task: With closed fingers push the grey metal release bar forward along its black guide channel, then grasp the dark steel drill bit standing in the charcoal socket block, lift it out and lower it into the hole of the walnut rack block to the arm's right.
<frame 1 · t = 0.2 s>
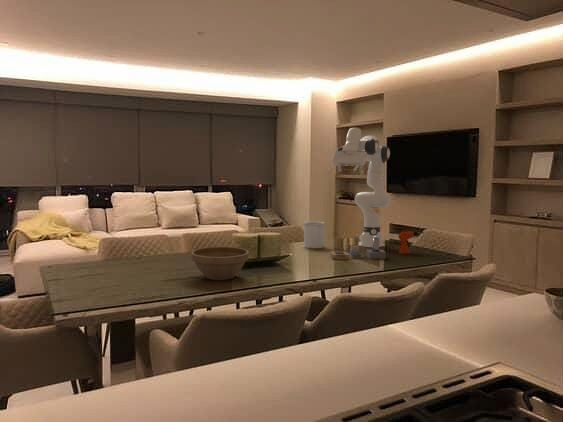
hand: (347, 170, 276), 54 cm above the table, tool tilted 30°, fingers open, 8 cm apart
rack: (339, 257, 284), on the table
drill bit: (376, 246, 286), in the socket block
guide channel: (355, 256, 289), on the table
toy drill: (410, 253, 303), on the table
flower pot: (220, 277, 230), on the table
release bar: (354, 250, 293), point 3 cm above the table, slide at 0.0 cm
socket block: (375, 257, 286), on the table
utensil holder: (313, 247, 325), on the table
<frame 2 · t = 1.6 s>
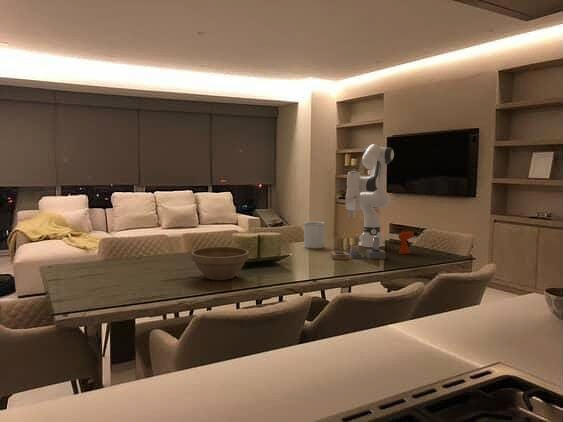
hand: (352, 217, 295), 24 cm above the table, tool pointing down, fingers open, 8 cm apart
nothing on the table moved.
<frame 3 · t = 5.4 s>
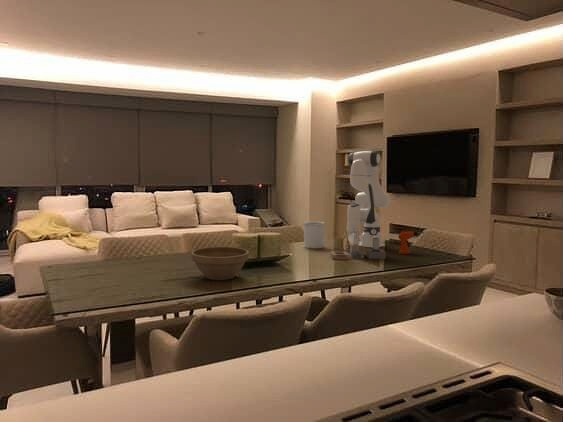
hand: (353, 250, 297), 3 cm above the table, tool pointing down, fingers closed
release bar: (354, 250, 293), point 3 cm above the table, slide at 0.0 cm, touching gripper
everything else where it was.
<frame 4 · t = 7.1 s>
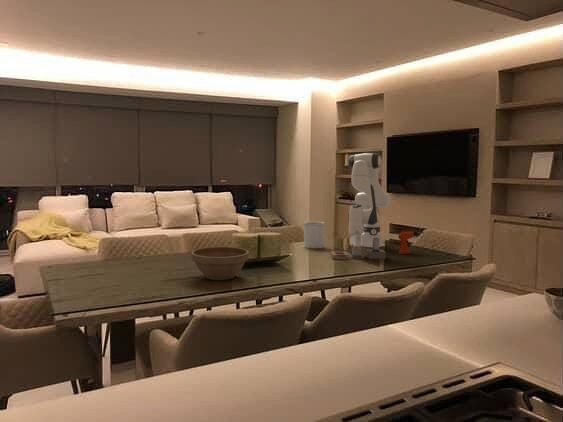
hand: (355, 251, 290), 3 cm above the table, tool pointing down, fingers closed
release bar: (356, 252, 286), point 3 cm above the table, slide at 7.0 cm, touching gripper
everything else where it was.
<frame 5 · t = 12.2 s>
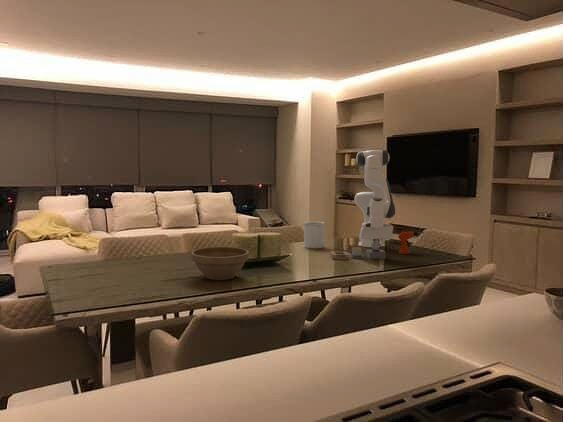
hand: (376, 246, 286), 7 cm above the table, tool pointing down, fingers closed on drill bit, 4 cm apart
drill bit: (376, 246, 286), in the socket block, touching gripper
release bar: (356, 252, 286), point 3 cm above the table, slide at 7.0 cm
everything else where it was.
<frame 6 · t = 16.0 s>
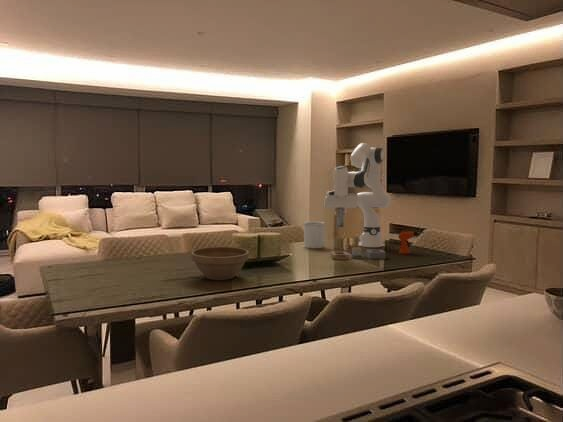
hand: (340, 215, 282), 27 cm above the table, tool pointing down, fingers closed on drill bit, 4 cm apart
drill bit: (340, 215, 282), point 26 cm above the table, touching gripper
everything else where it was.
when the fingers open (8 cm above the table, at t = 19.7 s): drill bit stays where it is, resting in rack.
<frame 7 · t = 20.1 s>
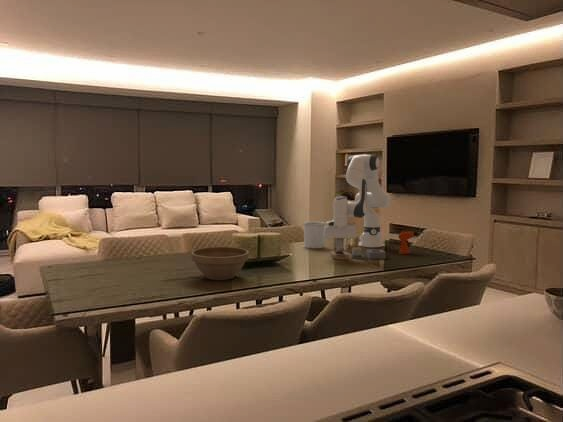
hand: (339, 245, 283), 8 cm above the table, tool pointing down, fingers open, 8 cm apart
drill bit: (339, 247, 283), in the rack
everything else where it was.
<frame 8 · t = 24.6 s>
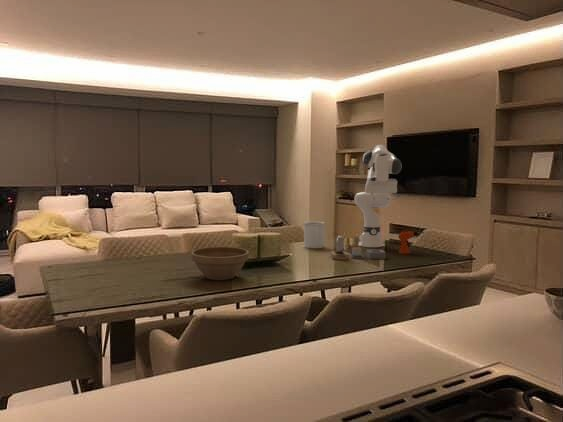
hand: (380, 200, 294), 35 cm above the table, tool pointing down, fingers open, 8 cm apart
nothing on the table moved.
at the end: release bar slide at 7.0 cm; drill bit 0.0 cm off-centre on the rack, point 6.8 cm above the rack's base; drill bit tilted 0° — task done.
